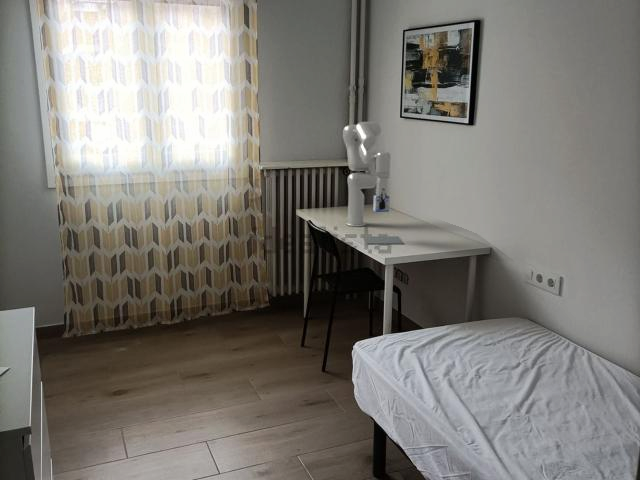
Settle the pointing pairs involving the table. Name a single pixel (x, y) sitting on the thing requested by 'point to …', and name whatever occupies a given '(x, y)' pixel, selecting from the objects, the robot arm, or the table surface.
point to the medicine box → (376, 204)
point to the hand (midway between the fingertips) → (381, 207)
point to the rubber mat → (383, 240)
